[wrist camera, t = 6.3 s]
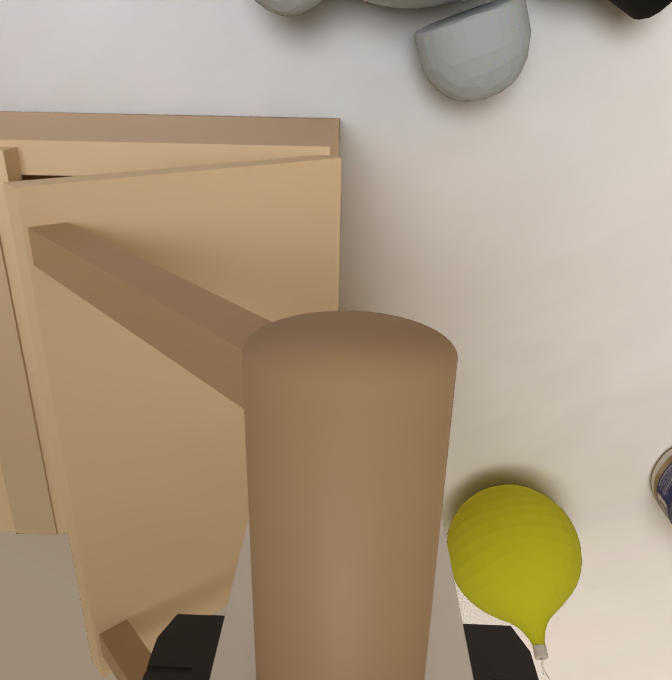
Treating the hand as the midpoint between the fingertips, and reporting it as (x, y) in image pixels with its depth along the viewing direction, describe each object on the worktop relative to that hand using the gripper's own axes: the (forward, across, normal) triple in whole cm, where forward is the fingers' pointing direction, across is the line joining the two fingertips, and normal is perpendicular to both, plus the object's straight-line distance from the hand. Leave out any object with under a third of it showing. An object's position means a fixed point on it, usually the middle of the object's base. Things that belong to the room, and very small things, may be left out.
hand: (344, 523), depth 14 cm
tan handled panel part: (+4, -4, 0) cm, 6 cm away
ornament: (+20, +9, -15) cm, 27 cm away
